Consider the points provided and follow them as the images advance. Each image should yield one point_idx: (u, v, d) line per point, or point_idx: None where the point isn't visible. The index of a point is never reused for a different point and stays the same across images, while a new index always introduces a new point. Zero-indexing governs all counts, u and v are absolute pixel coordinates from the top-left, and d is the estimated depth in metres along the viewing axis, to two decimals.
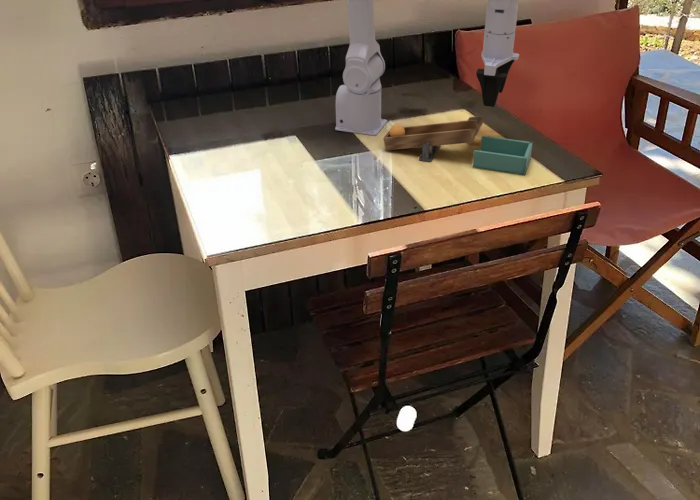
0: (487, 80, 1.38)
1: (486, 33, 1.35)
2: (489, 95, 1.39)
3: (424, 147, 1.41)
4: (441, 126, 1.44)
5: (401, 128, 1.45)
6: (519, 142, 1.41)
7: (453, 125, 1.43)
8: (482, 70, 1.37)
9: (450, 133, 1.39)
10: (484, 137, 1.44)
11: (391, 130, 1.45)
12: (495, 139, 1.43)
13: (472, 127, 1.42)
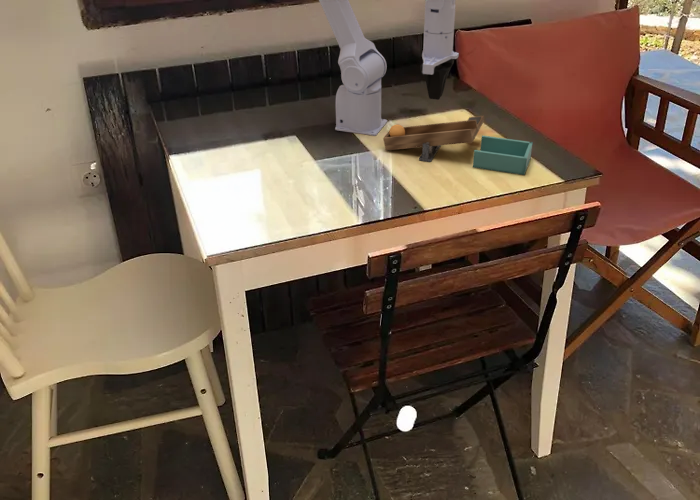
0: None
1: (425, 32, 1.38)
2: (434, 88, 1.43)
3: (424, 147, 1.41)
4: (441, 126, 1.44)
5: (401, 128, 1.45)
6: (519, 142, 1.41)
7: (453, 125, 1.43)
8: None
9: (450, 133, 1.39)
10: (484, 137, 1.44)
11: (391, 130, 1.45)
12: (495, 139, 1.43)
13: (472, 127, 1.42)
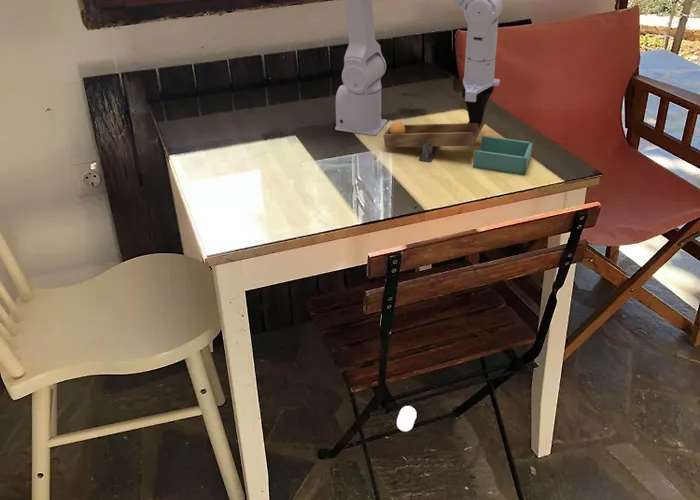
0: None
1: (467, 60, 1.38)
2: (475, 113, 1.44)
3: (424, 147, 1.41)
4: (442, 127, 1.44)
5: (402, 126, 1.45)
6: (519, 142, 1.41)
7: (454, 127, 1.43)
8: None
9: (451, 135, 1.40)
10: (484, 137, 1.44)
11: (392, 127, 1.45)
12: (495, 139, 1.43)
13: (473, 130, 1.42)
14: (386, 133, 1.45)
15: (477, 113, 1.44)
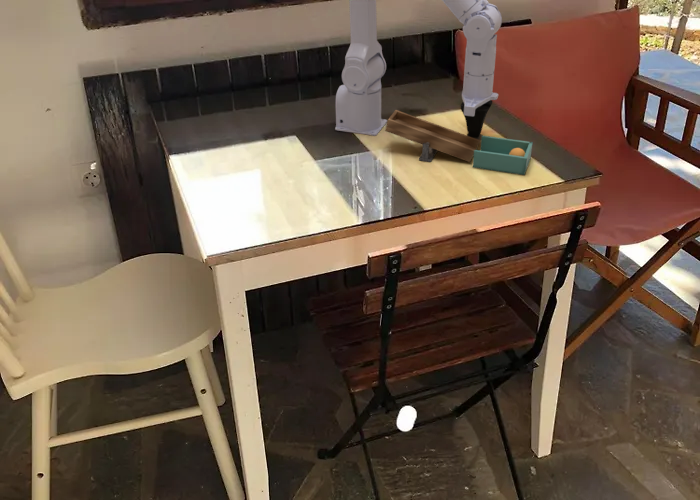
0: None
1: (465, 74, 1.39)
2: (473, 127, 1.45)
3: (424, 147, 1.41)
4: (445, 131, 1.45)
5: None
6: (519, 142, 1.41)
7: (456, 135, 1.44)
8: None
9: (453, 145, 1.40)
10: (484, 137, 1.44)
11: None
12: (495, 139, 1.43)
13: (472, 145, 1.44)
14: (391, 118, 1.43)
15: (476, 126, 1.45)
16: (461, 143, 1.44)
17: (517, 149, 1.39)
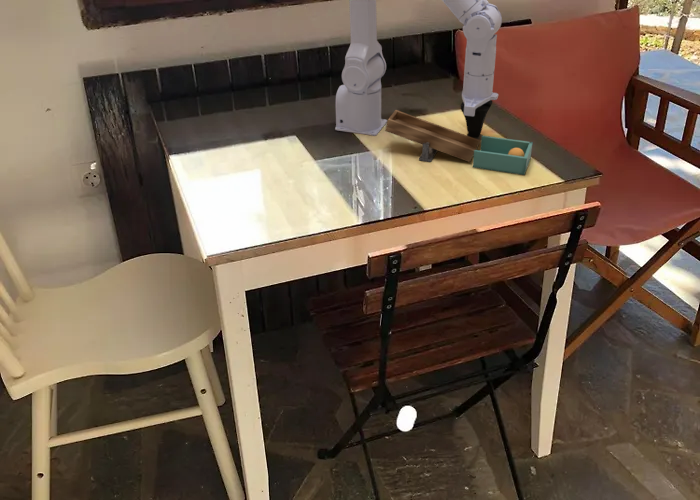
0: None
1: (465, 74, 1.39)
2: (473, 127, 1.45)
3: (424, 147, 1.41)
4: (445, 131, 1.45)
5: None
6: (519, 142, 1.41)
7: (456, 135, 1.44)
8: None
9: (453, 145, 1.40)
10: (484, 137, 1.44)
11: None
12: (495, 139, 1.43)
13: (472, 145, 1.44)
14: (391, 118, 1.43)
15: (476, 126, 1.45)
16: (461, 143, 1.44)
17: (515, 149, 1.39)
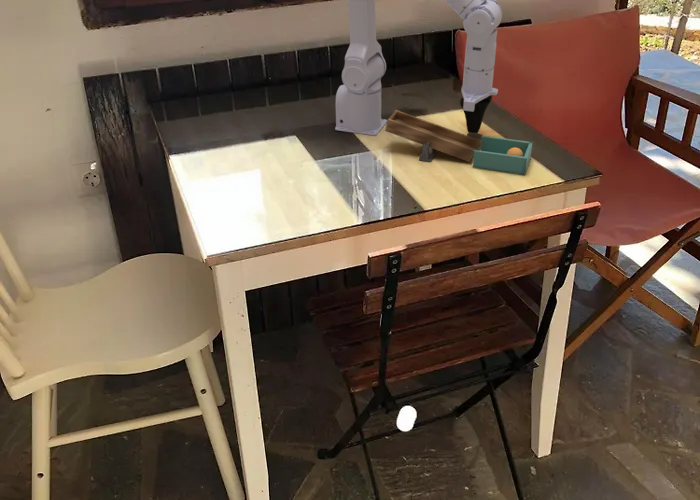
0: None
1: (465, 69, 1.39)
2: (473, 122, 1.45)
3: (424, 147, 1.41)
4: (445, 131, 1.45)
5: None
6: (519, 142, 1.41)
7: (456, 135, 1.44)
8: None
9: (453, 145, 1.40)
10: (484, 137, 1.44)
11: None
12: (495, 139, 1.43)
13: (472, 145, 1.44)
14: (391, 118, 1.43)
15: (475, 122, 1.45)
16: (461, 143, 1.44)
17: (512, 149, 1.39)
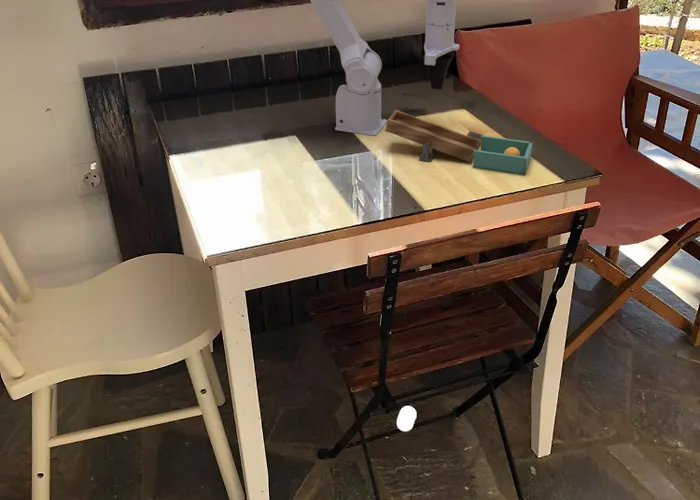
0: None
1: (427, 25, 1.42)
2: (436, 78, 1.48)
3: (424, 147, 1.41)
4: (445, 131, 1.45)
5: None
6: (519, 142, 1.41)
7: (456, 135, 1.44)
8: None
9: (453, 145, 1.40)
10: (484, 137, 1.44)
11: None
12: (495, 139, 1.43)
13: (472, 145, 1.44)
14: (391, 118, 1.43)
15: (438, 78, 1.48)
16: (461, 143, 1.44)
17: (506, 149, 1.39)
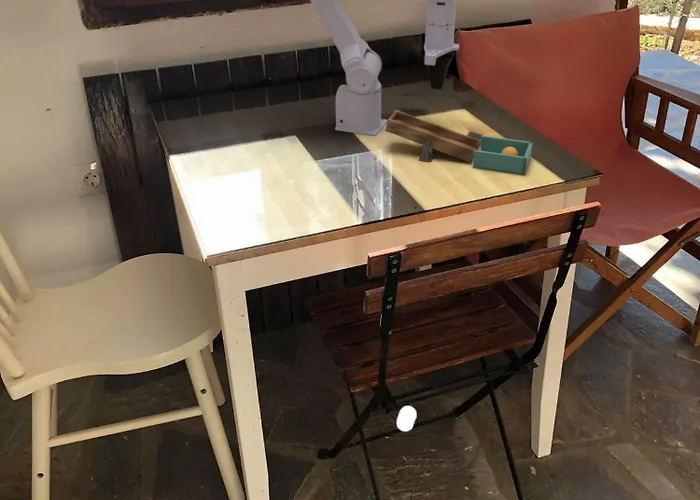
0: None
1: (427, 25, 1.42)
2: (436, 78, 1.48)
3: (424, 147, 1.41)
4: (445, 131, 1.45)
5: None
6: (519, 142, 1.41)
7: (456, 135, 1.44)
8: None
9: (453, 145, 1.40)
10: (484, 137, 1.44)
11: None
12: (495, 139, 1.43)
13: (472, 145, 1.44)
14: (391, 118, 1.43)
15: (438, 78, 1.48)
16: (461, 143, 1.44)
17: (503, 150, 1.40)
